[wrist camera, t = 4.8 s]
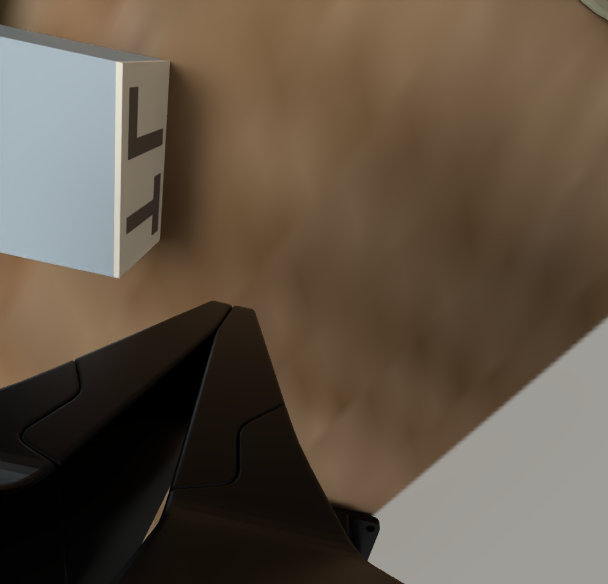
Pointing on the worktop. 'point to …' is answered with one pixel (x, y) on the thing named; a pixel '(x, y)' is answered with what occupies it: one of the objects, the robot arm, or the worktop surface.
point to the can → (598, 7)
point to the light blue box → (80, 151)
